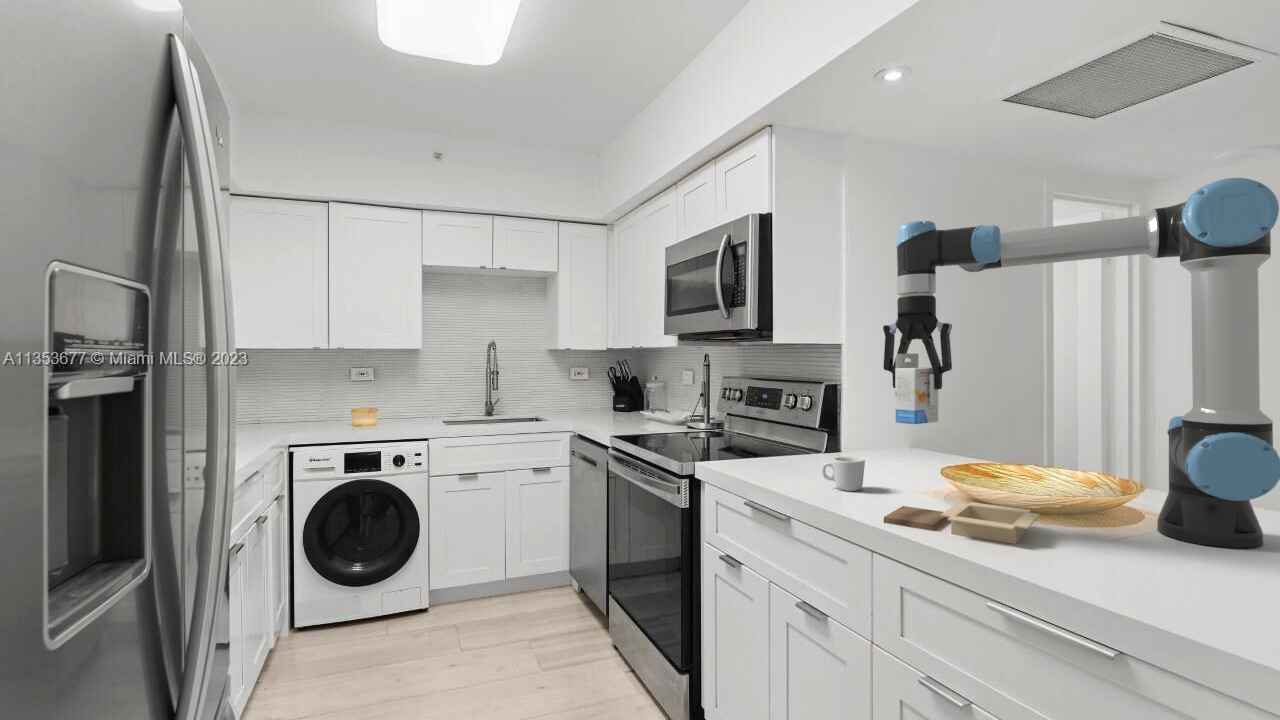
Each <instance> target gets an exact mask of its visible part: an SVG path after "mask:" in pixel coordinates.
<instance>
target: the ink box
mask: <svg viewBox="0 0 1280 720" xmlns="http://www.w3.org/2000/svg"><path fill="white" fill-rule="evenodd" d="M895 358H896V368H895V388H894V390H895V391H894V393H895V394H894V395H895V396H894V397H895V399H894V400H895V403H894V404H895V423H899V424H909V425H918V424H919V425H920V424H929V423H938V422H939V389H937V405H934V406H931V405H930V374H933V369H932V367H919V353H907V354H903V355H902V354H897V353H896V355H895ZM904 359H905V360H906V359H908V360H910V361H904V362H903V360H904Z"/></svg>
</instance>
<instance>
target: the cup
mask: <svg viewBox="0 0 1280 720" xmlns="http://www.w3.org/2000/svg"><path fill="white" fill-rule="evenodd" d="M865 462H866V461H865V458H862V457H855V456H838V457H833V459H832V461H828V462H825V463H824V464H823V465H822V469H821V473H822V476H823V477H824V479H825V480H827V481H833V482H835V487H836V488H837V489H839V490H840V491H845V492H857V491H860V490H862V489H863V485H864V484H863V483H864V473H865V465H866V463H865ZM827 467H830V468H831V469H832V475H831V476H828V475H827V474H826V473H827V471H826V469H827Z"/></svg>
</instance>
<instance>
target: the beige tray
mask: <svg viewBox="0 0 1280 720" xmlns="http://www.w3.org/2000/svg"><path fill="white" fill-rule="evenodd" d="M943 512H944V513H942V514H941V516H944V517H949V518H948V520H947V521H949V522H951V523H950V524H951V525H950V529H951V530H950V531H951V534H952V535H957V536H964V537H969V538H975V539H980V540H981V539H983V540H988V541H993V542H1001V543H1007V544H1013V545H1016V544H1017V543H1018V542H1019V541H1020V540H1021V539H1022V538H1023V537H1024V535H1025V534H1026V533H1027V532H1028V531H1029V528H1030V527H1031V526H1032V525H1033V524H1034V523H1035V521H1036V520H1037V519H1038V518H1039V517H1040V515H1041V514H1040V513H1035V512H1031V509H1025V508H1019V507H1012V506H1011V507H1010V506H1002V505H996V504H988V503H980V502H973V501H970V502H969V503H968V504H967V503H961V502H957V503H955V504H954V505H953V506H951V507H950V508H947V510H945V511H943Z"/></svg>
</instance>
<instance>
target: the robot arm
mask: <svg viewBox="0 0 1280 720" xmlns="http://www.w3.org/2000/svg"><path fill="white" fill-rule="evenodd" d="M1279 205H1280V204H1279V201H1278V198H1277V196H1276V195H1275V193H1274V192H1273V191H1272V190H1271V188H1269V187H1268V186H1267V185H1265V184H1264V183H1262V182H1260V181H1258V180H1255V179H1251V178H1246V177H1229V178H1223V179H1218V180H1216V181H1213V182H1211V183H1208V184H1206V185H1204V186H1202V187H1200V188H1197V190H1195V191H1194V192H1193V193H1192V194H1191V195H1190V196H1189V197H1188V198H1187V199H1186V201H1184V202H1181V203H1178V204H1174V205H1170V206H1164V207H1159V208H1158V207H1157V208H1153V209H1151V210H1149V211H1148V212H1147V213H1146V214H1145V215H1138V216H1129V217H1128V216H1127V217H1119V218H1113V219H1112V218H1110V219H1104V220H1103V219H1102V220H1097V221H1086V222H1080V223H1079V222H1078V223H1071V224H1062V225H1055V226H1054V225H1053V226H1047V227H1045V226H1044V227H1037V228H1031V229H1030V228H1029V229H1021V230H1014V231H1013V230H1012V231H1007V232H1006V231H1005V232H1001V229H1000V227H999V226H998V225H994V224H993V225H992V224H991V225H982V224H981V225H977V226H969V227H968V226H967V227H959V228H950V229H937V228H936V223H935V222H934V221H930V220H923V221H922V220H921V221H919V220H917V221H910V222H906V223H903V224H901V225H900V226H899V227H898V229H897V243H896V259H897V262H896V263H897V265H896V266H897V281H896V282H897V286H896V287H897V289H896V290H897V295H898V296H899V297H898V298H897V319H896V321H895V323H892V324H889V325H886V324H885V325H883V327H882V329H883V334H884V351H883V352H884V353H883V354H884V355H883V370H884V371H887V372H890V373H891V375H892V387H893V389H895V368H896V357H895V359H894V356H895V355H894V353H895V337H896V335H895V334H896V333H897V329H898V331H899V332H900V334H901V336H900V339H899V340H900V342H899V343H900V344H899V347H898V349H897V353H896V354H902V355H903V354H908V350H909V347H910V345H911V343H912V340H921V342H922V344H924V345H923V346H924V348H925V351H926V354H927V357H928V359H929V362H930V366H931V368H932V369H933V374H930V405H931V406H934V405H937V389H938V390H942V388H943V374H944V373H947V372H949V371H951V370H953V364H952V363H953V360H952V350H951V337H950V334H951V331H952V330H953V329H952V328H953V324H952V323H947V322H946V323H945V322H941V321H939V320H938V317H937V297H935V296H934V294H935V293H936V291H937V290H936V289H937V285H936V284H937V282H936V280H937V277H936V276H937V275H936V267H947V266H948V267H949V266H958V267H960V269H963V270H964V271H965V272H970V273H978V272H983V271H986V270H991V269H999V268H1008V267H1020V266H1030V265H1039V264H1050V263H1051V264H1052V263H1053V264H1054V263H1062V262H1074V261H1083V260H1084V261H1085V260H1095V259H1104V258H1105V259H1106V258H1117V257H1125V256H1126V257H1128V256H1137V255H1148V256H1149V257H1151V258H1152V259H1160V258H1173V257H1174V258H1175V257H1179V265H1180V266H1181V267H1182V268H1184V269H1185V270H1186V271H1188V272H1189V273H1190V278H1191V281H1190V284H1191V287H1190V288H1191V289H1190V290H1191V292H1190V293H1191V354H1192V355H1191V359H1192V361H1191V362H1192V364H1191V367H1192V368H1191V369H1192V370H1191V371H1192V372H1191V373H1192V408H1191V410H1189V411H1188V412H1187V413H1185V414H1184V415H1177V416H1173V417H1172V418H1170V419H1169V422H1168V429H1167V431H1166V432H1167V435H1168V493H1167V496H1166V498H1165V501H1164V503H1163V506H1162V507H1161V510H1160V512H1159V514H1158V518H1157V525H1156V527H1157V529H1156V530H1157V532H1159V533H1160V534H1161V535H1164V536H1166V537H1169V538H1172V539H1175V540H1180V541H1183V542H1189V543H1193V544H1198V545H1203V546H1204V545H1205V546H1210V547H1221V548H1231V549H1250V548H1251V549H1253V548H1258V547H1259V548H1260V547H1263V544H1264V533H1263V530H1262V527H1261V525H1260V521H1259V519H1258V517H1257V515H1256V513H1255V511H1254V508H1253V506H1252V503H1251V500H1254V499H1257V498H1260V497H1262V496H1264V495H1266V494H1268V493H1270V492H1271V491H1272V490H1273V489H1274V488H1275V487H1276V486H1277V485H1278V483H1279V481H1280V456H1279V454H1278V452H1277V450H1276V449H1275V448H1274V431H1273V430H1274V429H1273V423H1274V422H1273V420H1272V418H1270V417H1268V416H1267V415H1266V414H1265V413H1263V411H1262V410H1261V405H1260V403H1261V402H1260V400H1261V399H1260V398H1261V396H1260V395H1261V394H1260V390H1261V389H1260V324H1259V323H1260V322H1259V320H1260V317H1259V316H1260V315H1259V312H1260V308H1259V305H1260V302H1259V269H1260V267H1261V266H1262V265H1263V264H1265V263H1266V262H1267V261H1268V260H1269V259H1271V256H1272V255H1271V254H1272V253H1271V252H1272V250H1271V246H1272V245H1271V244H1272V243H1271V241H1272V238H1271V237H1272V234H1271V231H1272V229H1273V228H1274V226H1275V225H1276V222H1277V221H1278V217H1279V213H1280V206H1279ZM935 329H938V330H937V331H938V332H939V333H940V335H939V339H940V340H939V341H940V352H941V353H940V354H941V360H940V358H939V355H938V352H937V349H936V345H935V343H934V338H933V336H932V334H933V332H934V331H935ZM903 362H906V359H904V360H903Z"/></svg>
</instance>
